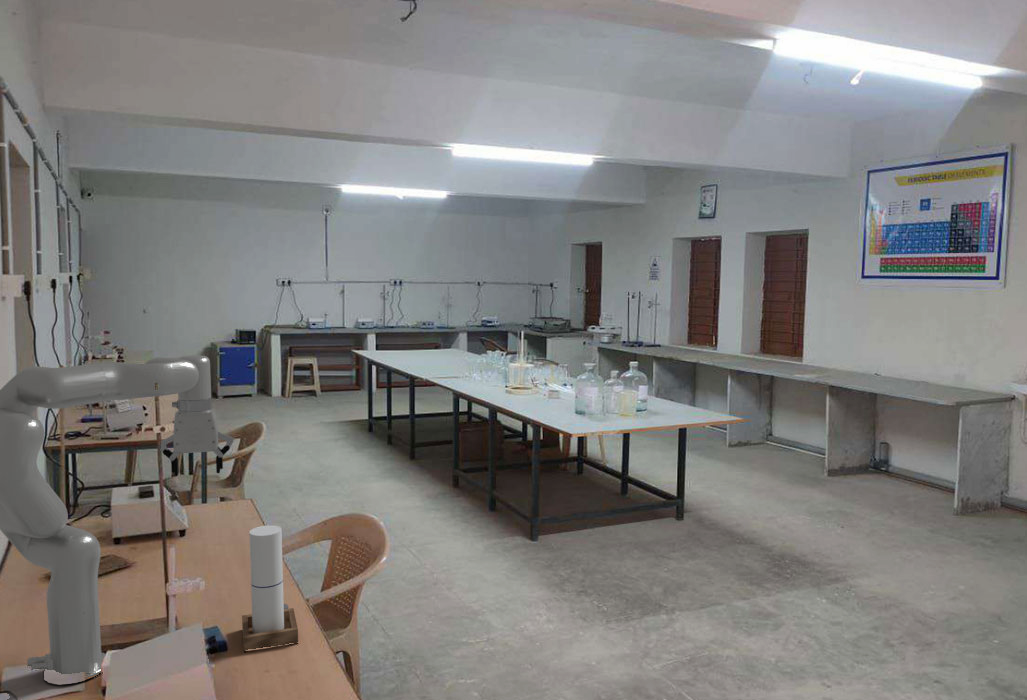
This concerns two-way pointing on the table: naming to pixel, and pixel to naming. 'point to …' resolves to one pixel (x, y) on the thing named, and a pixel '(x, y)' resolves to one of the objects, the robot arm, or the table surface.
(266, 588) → the cylindrical container
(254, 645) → the walnut stand
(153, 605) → the table surface
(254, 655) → the table surface
